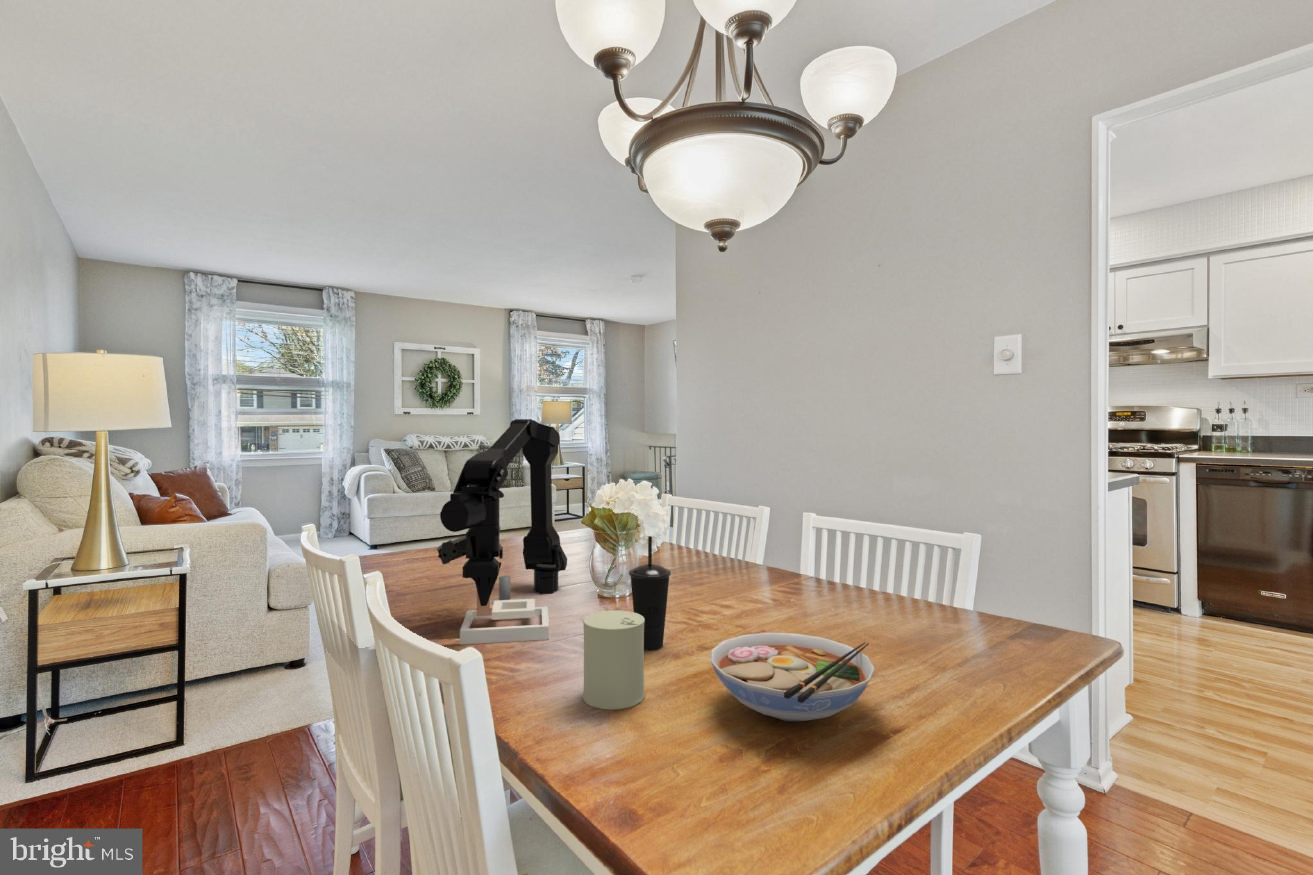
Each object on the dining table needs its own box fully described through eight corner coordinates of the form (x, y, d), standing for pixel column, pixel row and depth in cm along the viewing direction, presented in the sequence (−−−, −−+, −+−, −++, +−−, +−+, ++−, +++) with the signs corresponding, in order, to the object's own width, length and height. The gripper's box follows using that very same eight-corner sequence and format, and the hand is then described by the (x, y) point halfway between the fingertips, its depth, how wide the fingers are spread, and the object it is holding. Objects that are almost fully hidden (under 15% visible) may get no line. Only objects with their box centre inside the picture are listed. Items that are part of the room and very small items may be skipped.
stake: (484, 605, 140) (484, 573, 140) (526, 603, 142) (526, 571, 142) (481, 617, 131) (481, 583, 131) (525, 615, 133) (525, 581, 133)
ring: (478, 608, 126) (478, 581, 126) (534, 605, 128) (534, 579, 128) (475, 620, 118) (475, 591, 118) (534, 617, 120) (534, 589, 120)
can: (623, 715, 88) (623, 629, 87) (569, 701, 92) (570, 619, 92) (655, 691, 96) (656, 612, 95) (605, 679, 100) (605, 603, 100)
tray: (467, 622, 128) (467, 610, 128) (547, 618, 131) (547, 606, 131) (459, 644, 115) (459, 631, 115) (548, 639, 118) (548, 626, 118)
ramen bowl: (763, 664, 106) (763, 616, 106) (901, 703, 92) (902, 647, 92) (671, 717, 87) (672, 658, 87) (828, 776, 73) (829, 706, 72)
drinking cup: (622, 642, 117) (622, 534, 117) (659, 636, 120) (660, 531, 120) (638, 655, 110) (639, 541, 110) (677, 649, 113) (678, 538, 113)
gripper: (447, 517, 129) (447, 592, 130) (432, 532, 111) (433, 620, 111) (503, 516, 132) (503, 590, 132) (497, 531, 113) (497, 617, 114)
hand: (484, 603), depth 122 cm, fingers closed on ring, 2 cm apart
